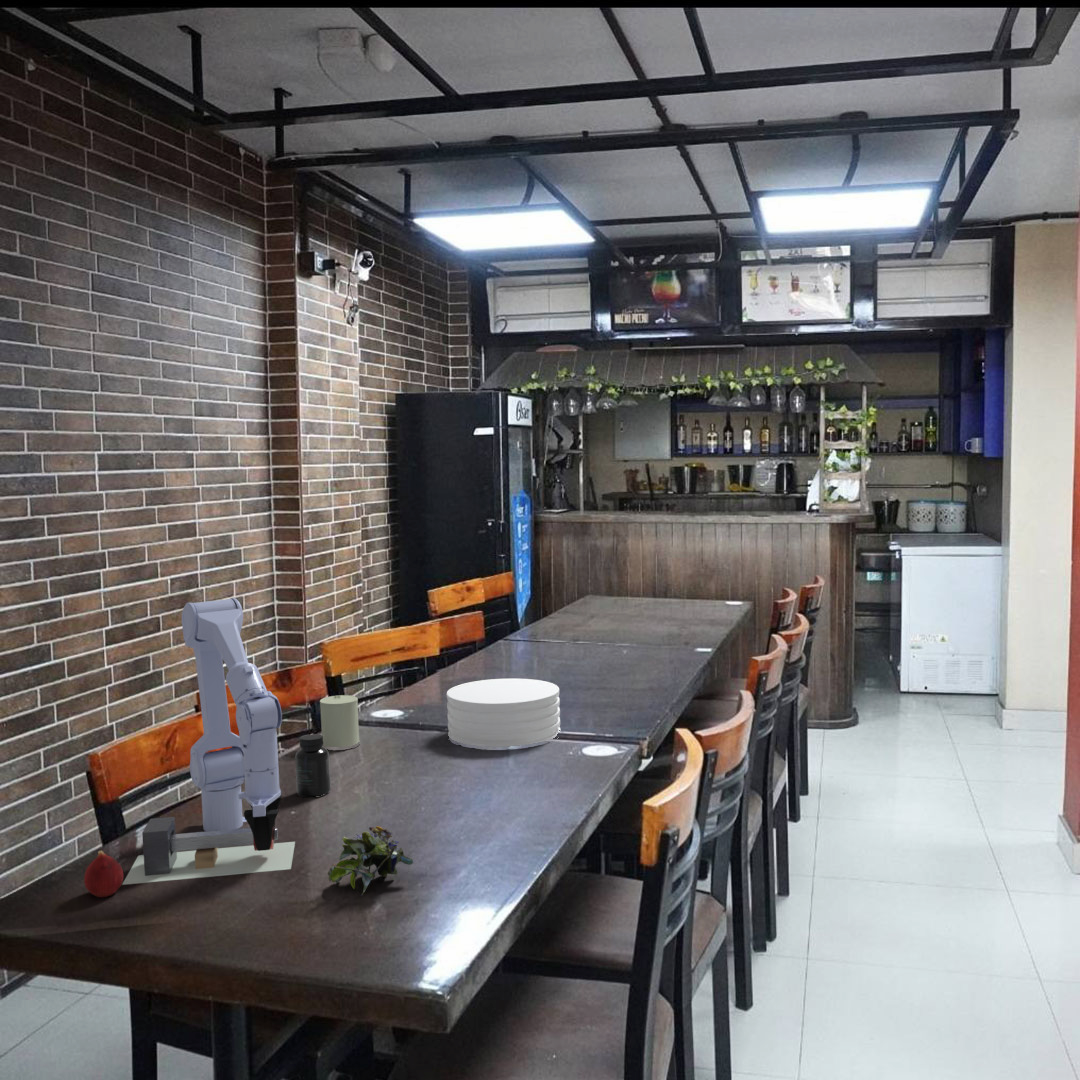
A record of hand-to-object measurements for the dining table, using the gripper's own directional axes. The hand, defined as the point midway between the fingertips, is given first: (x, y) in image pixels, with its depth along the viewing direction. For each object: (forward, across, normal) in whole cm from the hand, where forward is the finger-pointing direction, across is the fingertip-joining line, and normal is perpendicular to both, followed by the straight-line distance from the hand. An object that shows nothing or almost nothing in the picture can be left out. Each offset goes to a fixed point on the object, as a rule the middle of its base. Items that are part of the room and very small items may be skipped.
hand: (265, 843), depth 183 cm
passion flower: (+4, +14, +18) cm, 23 cm away
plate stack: (+4, -73, +52) cm, 89 cm away
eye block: (+2, 0, -17) cm, 18 cm away
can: (+4, -74, +11) cm, 74 cm away
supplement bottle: (+4, -38, +6) cm, 38 cm away
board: (+3, 0, -9) cm, 10 cm away
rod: (+1, 0, -8) cm, 8 cm away
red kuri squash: (+4, +10, -24) cm, 26 cm away
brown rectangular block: (+2, 0, -10) cm, 10 cm away
